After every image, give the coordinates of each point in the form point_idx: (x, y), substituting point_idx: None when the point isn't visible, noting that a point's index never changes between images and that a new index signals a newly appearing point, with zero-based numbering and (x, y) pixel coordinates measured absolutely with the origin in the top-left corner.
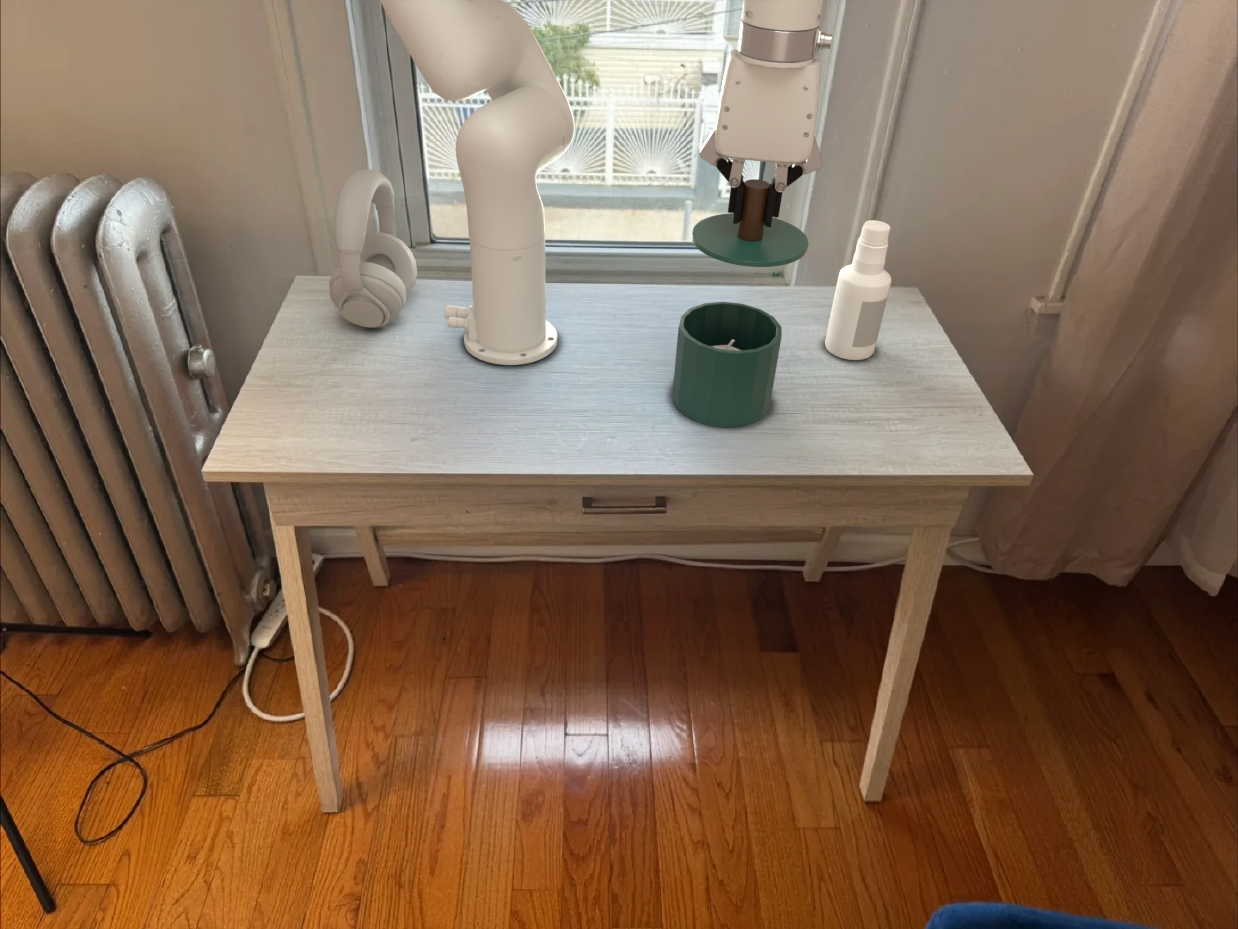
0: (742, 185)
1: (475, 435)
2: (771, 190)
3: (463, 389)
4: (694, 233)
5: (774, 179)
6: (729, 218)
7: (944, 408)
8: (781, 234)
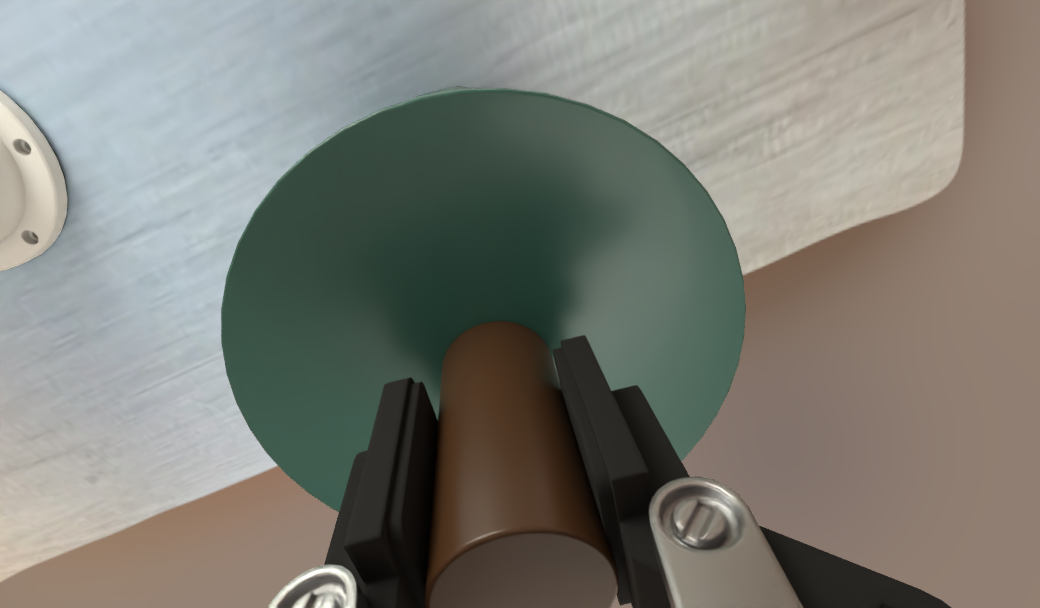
0: (421, 604)
1: (159, 439)
2: (634, 602)
3: (33, 354)
4: (274, 448)
5: (657, 598)
6: (337, 225)
7: (888, 26)
8: (626, 288)
